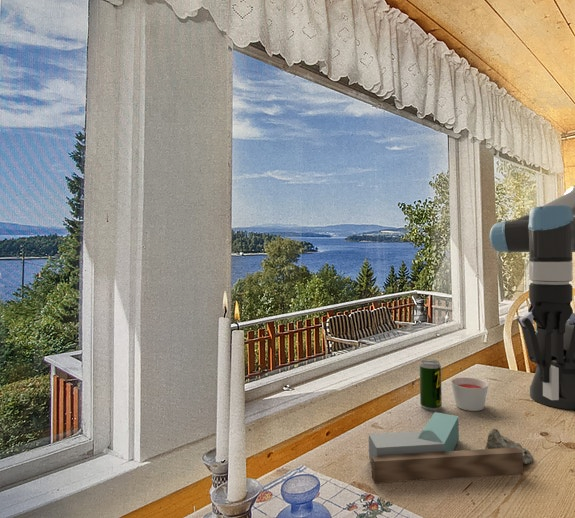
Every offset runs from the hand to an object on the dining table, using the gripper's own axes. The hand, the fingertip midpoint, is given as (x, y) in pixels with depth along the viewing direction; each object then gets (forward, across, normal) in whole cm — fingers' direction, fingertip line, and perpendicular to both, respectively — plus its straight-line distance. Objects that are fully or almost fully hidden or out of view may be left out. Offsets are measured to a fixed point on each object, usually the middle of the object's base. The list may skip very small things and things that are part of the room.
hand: (550, 397), depth 87 cm
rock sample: (+12, +10, +1) cm, 15 cm away
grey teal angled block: (+11, +27, -3) cm, 29 cm away
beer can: (+11, +14, -26) cm, 32 cm away
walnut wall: (+11, +24, +6) cm, 28 cm away
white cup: (+11, +4, -25) cm, 28 cm away
